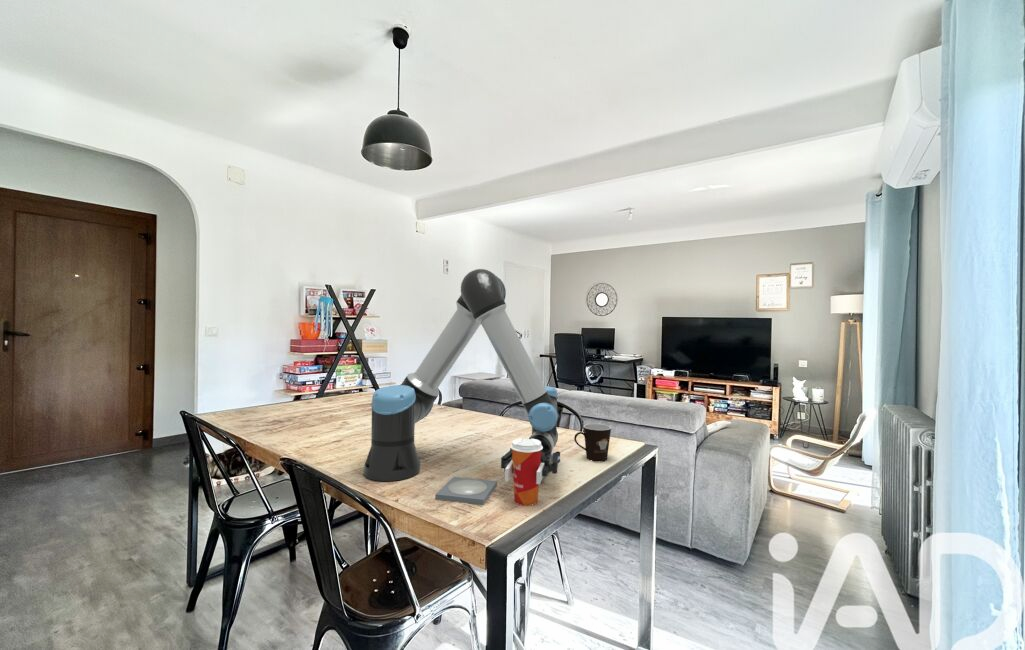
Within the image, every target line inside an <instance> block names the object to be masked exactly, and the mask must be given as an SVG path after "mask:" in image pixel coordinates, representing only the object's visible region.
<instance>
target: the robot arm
mask: <svg viewBox="0 0 1025 650" xmlns="http://www.w3.org/2000/svg"><path fill="white" fill-rule="evenodd" d="M506 293H507V291H506V287H505V284H504V282H503V281H502V279H501V278H499V277H498V276H497V275H496V274H495V273H494V272H492V271H491V270H489V269H484V268H478V269H474V270H471V271H469V272H468V273H467V274H466V275H465V276H464V277H463V279H462V280H461V282H460V295H459V297H458V298H457V300H456V311H455V312H454V313H453V315H452V317H451V318H450V320H449V321H448V322H447V324H446V325H445V327H444V329H443V330H442V331H441V333H440V334H439V336H438V337H437V339H436V341H435V342H434V344H433V345H432V347H431V348H430V349H429V351H428V353H427V354H426V355H425V357H424V358H423V360H422V361H421V363H420V365H419V366H418V368H417V369H416V370H415V372H412V373H411V372H410V373H407V375H406V376H405V378H404V379H403V381H402V383H400V385H399V384H396V385H395V384H394V385H388V386H383V387H380V388H378V389H376V390H375V391H374V392H373V394H372V399H371V406H370V407H371V434H370V435H371V439H370V441H371V444H370V448H369V450H368V454H367V456H366V459H365V462H364V466H363V475H364V477H365V478H366V479H368V480H371V481H377V482H392V481H394V482H395V481H402V480H405V479H410V478H412V477H414V476H416V475H418V474H419V472H420V471H421V460H420V457H419V453H418V450H417V448H416V444H415V428H416V427H415V424H417V423H418V422H420V421H421V420H424V419H425V418H426V417H427V416H428V415H429V414H430V413H431V411H432V409H433V408H434V403H435V401H436V400H437V398H438V397H439V395H440V389H439V387H440V385H441V384H442V383H443V381H444V379H446V376H447V375H448V373H449V372H450V371H451V369H452V368H453V366H454V365H455V363H456V362H457V360H458V358H459V356H461V354H462V353H463V351H464V350H465V348H466V347H467V345H469V342H470V340H471V339H472V338H473V336H474V335H475V333H476V332H477V330H478V329H479V327H480V326H481V327H482V328H483V330H484V331H485V334H486V336H487V337H488V340H489V341H490V343H491V346H492V347H493V349H494V351H495V353H496V355H497V357H498V359H499V361H500V363H501V364H502V367H503V369H504V370H505V372H506V374H507V377H508V378H509V380H510V382H511V384H512V385H513V387H514V389H515V391H516V393H517V395H518V397H519V399H520V401H521V403H522V405H523V408H524V409H525V410H524V411H526V414H527V415H528V421H529V424H530V425H531V435H530V436H529V437H528V438H529V439H531V438H532V439H537V440H539V441H540V442H541V445H542V447H543V449H542V450H541V463H540V466H539V468H538V470H537V481H536V484H539V485H541V482H542V480H543V478H544V477H548V475H549V474H550V472H551V473H552V474H553V475H556V474H558V468H559V467H558V466H559V465H558V464H559V463H561V451H555V452H553V451H554V448H555V447H556V445H557V442H558V440H559V433H558V423H557V422H558V420H559V419H558V418H559V414H558V392H557V391H558V390H557V389H556V387H554V386H546V385H544V383H543V381H542V380H541V378H540V375H539V373H538V371H537V370H536V368H535V365H534V364H533V362H532V360H531V358H530V356H529V354H528V352H527V350H526V348H525V347H524V344H523V342H522V341H521V339H520V337H519V334H518V333H517V331H516V329H515V327H514V326H513V325H514V324H513V323H512V321H511V319H510V317H509V316H508V314H507V311H506V308H507V304H506V302H505V300H506ZM550 460H552V461H551V463H550ZM500 468H501V469H502V470H503V472H504V481H505V482H508V481H510V479H511V477H513V461H512V449H511V447H509V450H508V451H507V452H506V453H505V454H504V455H502V457H501V458H500Z"/></svg>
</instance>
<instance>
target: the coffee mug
mask: <svg viewBox="0 0 1025 650" xmlns="http://www.w3.org/2000/svg"><path fill="white" fill-rule="evenodd" d="M611 433H612V427H611V426H609V425H606V424H602V423H587V424H586V423H585V424H584V425H583V432H582V431H579V432H576V434H574V438H573V439H574V440H573V441H574V442H575V444H576V445H577V446H578V447H579V448H581V449H583V450H584V451H585V455H586V456H585V457H586V459H587V460H588V461H590V460H592V461H591V462H595V461H603V462H606V461H607V460H608V455H609V454H608V453H609V447H610V439H611ZM579 435H583V436H584V446H585V447H584V446H582V445H581V444H580V443H579V442H578V440H577V438H578V436H579ZM605 460H606V461H605Z"/></svg>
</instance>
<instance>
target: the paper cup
mask: <svg viewBox="0 0 1025 650" xmlns="http://www.w3.org/2000/svg"><path fill="white" fill-rule="evenodd" d="M510 448H511V449H512V461H513V474H512V481H513V484H512V485H513V499H514V500H513V501H514V502H515V504H517V503H518V504H517V505H520V504H521V505H520V506H533V505H536V504H537V503H538V500H539V489H540V488H539V487H540V484H536V481H537V470H538V468H539V466H540V463H541V450H542V449H543V447H542V445H541V442H540V441H539V440H537V439H532V438H531V439H529V437H527V438H525V437H524V438H522V437H519V438H516V439H513V440H512V442H511V445H510ZM535 503H536V504H535ZM532 504H533V505H532Z"/></svg>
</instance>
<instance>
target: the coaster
mask: <svg viewBox="0 0 1025 650" xmlns="http://www.w3.org/2000/svg"><path fill="white" fill-rule="evenodd" d="M497 486H498V480H489V479H482V478H479V479H478V478H471V477H462V476H453V477H451V479H449V480H448V481H447V483H445V485H443V486H442V487H441V488H440V489H439V490H438V491H437V492H436V493H435V494H434V496H435V497H434V499H435V500H438V501H447V502H456V503H463V504H472V505H480V506H481V505H482V506H484V505H485V504H486V502H487V501H488V499H489V498H490V497H491V495H492V493H494V492H495V489H496V488H497Z"/></svg>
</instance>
